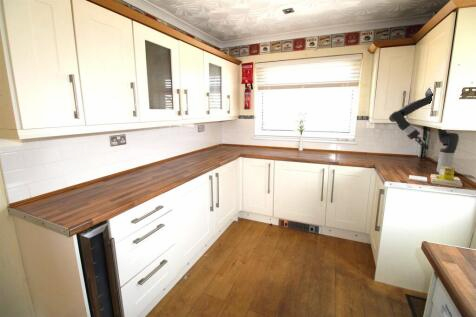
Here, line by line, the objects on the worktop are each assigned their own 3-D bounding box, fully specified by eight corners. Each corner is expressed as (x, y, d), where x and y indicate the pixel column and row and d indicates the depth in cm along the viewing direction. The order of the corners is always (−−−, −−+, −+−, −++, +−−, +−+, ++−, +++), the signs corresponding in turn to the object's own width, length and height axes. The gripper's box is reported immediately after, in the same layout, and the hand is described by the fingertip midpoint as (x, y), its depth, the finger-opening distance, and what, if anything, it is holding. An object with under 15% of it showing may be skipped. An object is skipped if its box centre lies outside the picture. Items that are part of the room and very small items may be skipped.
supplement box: (452, 183, 169) (455, 168, 167) (443, 182, 170) (445, 168, 168) (446, 181, 174) (449, 166, 172) (437, 180, 175) (440, 166, 173)
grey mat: (409, 176, 187) (409, 175, 187) (426, 178, 181) (426, 177, 180) (408, 179, 178) (408, 178, 177) (427, 182, 171) (427, 181, 171)
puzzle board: (430, 177, 185) (430, 174, 184) (457, 180, 175) (458, 177, 175) (431, 183, 169) (432, 179, 168) (461, 187, 160) (462, 183, 159)
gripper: (415, 129, 175) (432, 146, 171) (415, 128, 186) (431, 144, 182) (406, 136, 179) (422, 152, 175) (406, 134, 190) (422, 150, 186)
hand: (427, 148), depth 178 cm, fingers open, 8 cm apart
